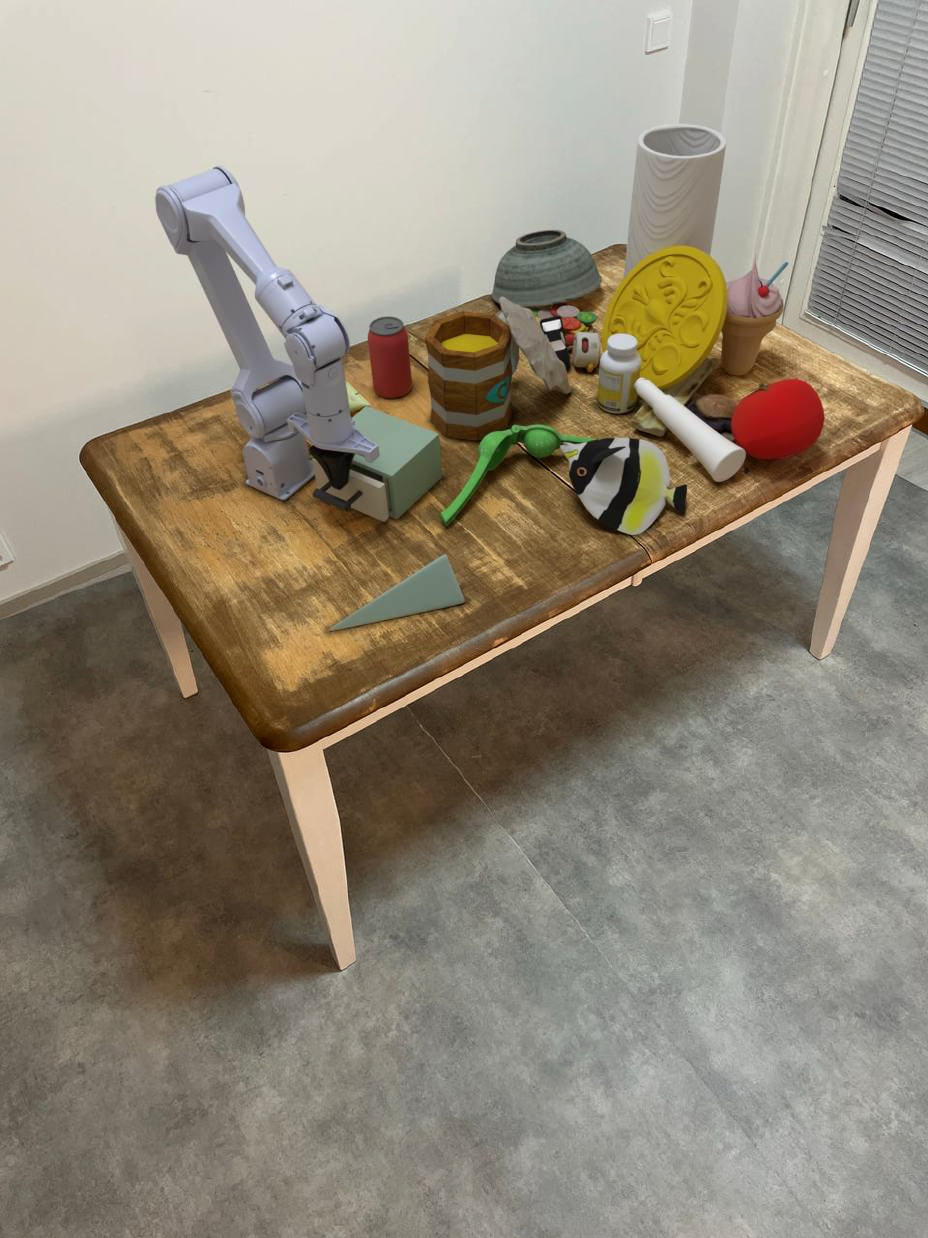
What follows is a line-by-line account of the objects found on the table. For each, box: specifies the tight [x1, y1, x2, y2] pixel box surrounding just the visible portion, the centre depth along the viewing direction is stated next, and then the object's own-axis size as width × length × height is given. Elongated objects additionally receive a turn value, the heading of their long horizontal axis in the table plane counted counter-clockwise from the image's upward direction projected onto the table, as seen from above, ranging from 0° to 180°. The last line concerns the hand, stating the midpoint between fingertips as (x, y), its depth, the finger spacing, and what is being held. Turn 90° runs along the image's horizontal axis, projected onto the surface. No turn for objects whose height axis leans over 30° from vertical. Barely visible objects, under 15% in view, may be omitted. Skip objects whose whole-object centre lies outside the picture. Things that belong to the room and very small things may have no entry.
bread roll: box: [685, 393, 738, 443], centre depth 154 cm, size 11×8×4 cm
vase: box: [623, 123, 727, 279], centre depth 165 cm, size 14×14×32 cm
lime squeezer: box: [439, 424, 598, 527], centre depth 145 cm, size 34×12×6 cm, turn 115°
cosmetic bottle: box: [634, 377, 747, 483], centre depth 148 cm, size 6×6×22 cm
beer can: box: [367, 315, 413, 399], centre depth 160 cm, size 7×7×12 cm
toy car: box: [540, 316, 571, 371], centre depth 167 cm, size 10×4×3 cm
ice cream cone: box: [720, 254, 789, 376], centre depth 158 cm, size 11×11×20 cm
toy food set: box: [530, 302, 598, 351], centre depth 173 cm, size 13×13×3 cm
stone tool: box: [499, 297, 573, 395], centre depth 152 cm, size 12×4×25 cm
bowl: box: [491, 229, 603, 308], centre depth 181 cm, size 21×21×10 cm
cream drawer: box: [311, 457, 391, 523], centre depth 142 cm, size 15×12×6 cm
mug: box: [424, 310, 520, 442], centre depth 154 cm, size 20×14×15 cm
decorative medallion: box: [601, 246, 728, 390], centre depth 157 cm, size 24×24×2 cm
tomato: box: [731, 378, 825, 460], centre depth 145 cm, size 12×14×12 cm
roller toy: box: [571, 332, 601, 373], centre depth 165 cm, size 4×6×6 cm
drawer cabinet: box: [351, 406, 443, 521], centre depth 144 cm, size 12×14×8 cm
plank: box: [630, 357, 719, 437], centre depth 159 cm, size 23×6×3 cm, turn 149°
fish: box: [560, 437, 688, 536], centre depth 139 cm, size 12×20×15 cm
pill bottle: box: [596, 334, 641, 414], centre depth 155 cm, size 6×6×12 cm
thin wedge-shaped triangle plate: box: [329, 554, 466, 632], centre depth 128 cm, size 8×6×18 cm
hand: (340, 484), depth 138 cm, fingers closed
